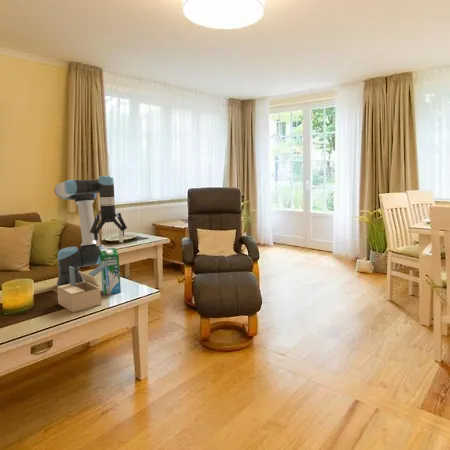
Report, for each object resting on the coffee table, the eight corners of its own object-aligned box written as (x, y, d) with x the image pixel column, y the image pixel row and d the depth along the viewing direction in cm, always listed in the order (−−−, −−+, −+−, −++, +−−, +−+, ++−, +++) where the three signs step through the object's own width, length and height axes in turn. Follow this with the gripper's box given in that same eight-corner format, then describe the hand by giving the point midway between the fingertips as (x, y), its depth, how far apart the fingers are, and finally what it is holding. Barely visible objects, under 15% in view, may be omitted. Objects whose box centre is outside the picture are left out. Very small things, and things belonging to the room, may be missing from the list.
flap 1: (57, 287, 191) (56, 268, 189) (70, 284, 196) (69, 265, 194) (71, 294, 179) (69, 274, 177) (84, 291, 184) (83, 271, 182)
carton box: (58, 304, 192) (57, 287, 191) (85, 297, 203) (84, 281, 202) (72, 312, 180) (71, 295, 179) (101, 304, 191) (100, 288, 189)
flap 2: (78, 271, 198) (93, 259, 204) (84, 280, 201) (99, 269, 207) (92, 277, 186) (108, 264, 192) (99, 287, 189) (114, 274, 195)
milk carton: (104, 295, 206) (101, 252, 202) (102, 290, 214) (99, 249, 210) (120, 292, 210) (118, 250, 206) (117, 288, 218) (115, 247, 214)
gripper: (88, 207, 181) (91, 248, 185) (132, 203, 199) (133, 241, 202) (81, 206, 187) (84, 246, 190) (124, 202, 204) (126, 239, 207)
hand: (110, 244), depth 196 cm, fingers open, 13 cm apart
